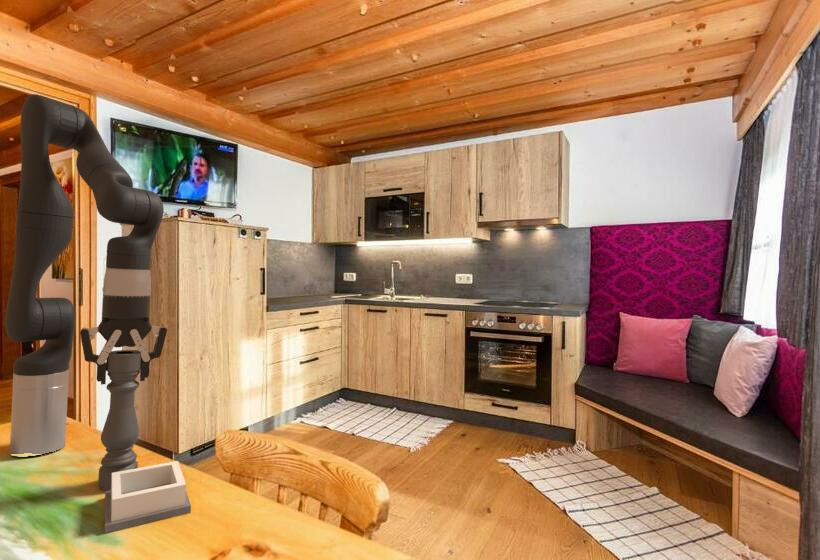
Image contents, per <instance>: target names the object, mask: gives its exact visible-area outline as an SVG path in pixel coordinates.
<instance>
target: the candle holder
mask: <svg viewBox="0 0 820 560" xmlns="http://www.w3.org/2000/svg"><path fill="white" fill-rule="evenodd" d="M105 362H106V376H108V377H109V380H110V382H109V383H107V385H106V390H108V391H109V393H110V396H109V398H110V399H109V409H108V412H107V415H106V416H107V417H106V419H105V422H104V426H103V429H102V431H101V435H100V442H101V444H102V445H103V446H104V447H105V451H106V453H105V454H104V457H102V458H101V461H100V465H101V466H100V467H99V469H98V480H97V488H98V487H99V489H100V490H99V489H98V490H99V491H101V490H102V491H101V492H105V491H110V490H111V479H112V473H114V472H119V471H125V470H130V469H136V468H139V461H137V458H138V454H137V453H136V452H135V451H134V450H133V449H134V444H135V443H136V442H137V440H138V439H139V437H140V426H139V425H140V424H139V422H138V421H139V420H138V417H137V412H136V407H135V396H136V395H135V393H136V391H137V389H138V388H139V386H140V381H137V380H136V379H137V378H138V375H140V369H141V362H142V357H141V353H139V351H138V349H120V350H112V351H111V352H110V354H109V356H108V357H107V359H106V361H105Z"/></svg>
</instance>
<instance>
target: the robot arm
mask: <svg viewBox="0 0 820 560" xmlns="http://www.w3.org/2000/svg"><path fill="white" fill-rule="evenodd" d="M49 145H52V146H56V147H60V148H64V149H69V150H70V149H71V150H74V151H76V152H78V155H77V156H76V157H77V158H76V163H75V165H76V170H77V172H78V175H79V176H80V178H81V179H82V180H83V181H84V183H86V185H87V186H88V188H90V190H91V191H92V193H93V194H92V195H93V198H94V200H95V205H96V209H97V212H98V214H99V215H100V216H101V217H102V218H104V219H105V220H107V221H109V222H110V223H115V224H124V225H131V226H133V227H132V230H131V231H130V233H129V234H128V235H125V236H115V237H112V238H110V239H108V241H107V245H106V257H105V258H106V259H105V260H106V263H105V272H104V278H103V287H102V307H101V308H102V309H101V320H100V323H99V325H98V326H95V327H93V326H92V327H82V328H81V329H80V331H79V335H80V339H81V346H82V350H83V351H82V352H83V356H84V361H85V362H88V363H90V362H91V363H94V364H95V365H96V382H100V385H101V386H102V385H106V384H107V383H106V382H107V381H106V380H107V371H106V359H107V357H108V356H109V354H110V352H111V351H113V349H114V348H121V347H130V348H132V347H133V348H134V347H136V350H138V351H139V353H141V357H142V362H141V369H140V372H139V380H140V381H139V382H145V381H146V378H147V379H148V378H149V376H150V362H151V361H152V360H153V359H158V358H160V357H161V355H162V352H163V348H164V345H165V340H166V337H167V333H168V329H167V327H166V326H164V325H161V326H157V325H152V324H151V322H150V310H151V309H150V308H151V294H152V278H151V261H152V260H151V259H152V257H151V256H152V248H153V245H154V242H155V240H156V236H157V235H158V234H157V233H158V231H159V229H160V226H161V223H162V220H163V217H164V212H165V211H164V210H165V209H164V204H163V201H162V199H161V197H160V196H159V194H157V193H156V192H154V191H151V190H147V189H143V188H137V187H134V183H133V179H132V178H131V176H130V175H129V173H128V171H126V169H125V168H124V167H123V166H122V165H121V164H120V162H119V161H117V159H116V158H115V157H114V156H113V155H112V154H111V152H110V150H109V149H108V147H107V145H106V143H105V142H104V139H103V138H102V136H101V134H100V132H99V130H98V129H97V126H96V125H95V123H94V121H93V120H92V118H91V117H90V116H89V114H88V113H87V112H85V110H83V109H82V108H79V107H77V106H74V105H71V104H68V103H65V102H62V101H59V100H56V99H53V98H52V97H51V98H50V97H47V96H45V95H40V94H37V93H36V94H35V93H34V94H30V95H28V96H27V97H26V99H25V100H24V103H23V104H22V109H21V113H20V157H21V160H20V161H21V163H20V166H21V167H20V168H21V169H20V183H19V193H18V194H19V195H18V202H17V209H16V222H15V223H16V224H15V244H14V261H13V269H12V270H13V271H12V276H11V282H10V288H9V291H8V293H9V294H8V298H7V305H6V312H5V320H4V321H5V325H4V326H5V332H6V334H7V337H8V338H9V340H11V341H12V342H16V343H26V342H37V341H44V343H43V344H42V346H40V347H39V348H38V349H36V350H34V351H33V352H30V353H28V354H24V355H23V356H20V357H18V358H17V359H16V360H15V361H14V363H13V371H12V372H13V373H12V374H13V375H12V400H11V418H10V419H11V420H10V421H11V422H10V434H9V435H10V436H9V438H10V439H9V441H10V442H9V455H10V454H24V453H32V454H44V453H49V452H53V453H55V452H57V451H56V450H58V451H60V450H62V449H63V448H64V447H65V446H66V437H67V436H66V433H67V415H68V398H69V394H68V393H69V376H70V375H69V374H70V361H71V358H72V354H73V343H74V335H75V326H76V309H75V307H74V304H73V302H72V301H71V300H70V299H69V298H67V297H36V295H37V291H38V287H39V284H40V282H41V280H42V277H44V274H45V273H46V271H48V269H49V268H50V266H51V265H52V264H53V263H54V262H55V261H56V260H57V259H58V258H59V257H60V256H61V254H63V252H64V251H65V250H66V249H67V248H68V246H69V244H70V243H71V241H72V239H73V229H74V217H75V211H74V207H73V204H72V202H71V200H70V197H69V196H68V194H67V193H66V191H65V190H64V188H63V186H62V185H61V183H60V181H59V180H58V178H57V176H56V174H55V172H54V170H53V168H52V164H51V160H50V154H49ZM150 332H152V333H153V335H152V336H154V338H156V339H155V341H154V342H155V343H154V346H153V349H152V351H149V352H148V351H147V349H146V346H145V344H144V342H143V341H144V339H145V338H146V337H147V336H148V335H149V334H150ZM97 333H99V334H100V335H101V337H103V339H104V340H105V343H104V345H103V346H102V349H101V351H100V352H99V354H95V353H94V350H93V345H92V340H94V339H95V337H96V334H97ZM59 449H60V450H59ZM54 451H55V452H54ZM49 454H50V453H49Z"/></svg>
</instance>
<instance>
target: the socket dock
mask: <svg viewBox="0 0 820 560" xmlns="http://www.w3.org/2000/svg"><path fill="white" fill-rule="evenodd" d="M104 493H105V494H104V495H105V496H104V534H108V533H109V534H110V533H113V532H117V531H120V530H125V529H129V528H134V527H137V526H140V525H145V524H149V523H154V522H158V521H161V520H165V519H166V520H167V519H170V518H174V517H177V516H182V515H186V514H191V511H192V505H191V501H190V499H189V496H188V492H187V483H186V480H185V477H184V473H183V472H182V468H181V466H180V464H179V460H175V461H171V462H169V461H168V462H164V463H158V464H153V465H148V466H142V467H138V468H136V469H130V470H125V471H119V472H114V473H112V479H111V490H110V491H104Z"/></svg>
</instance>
